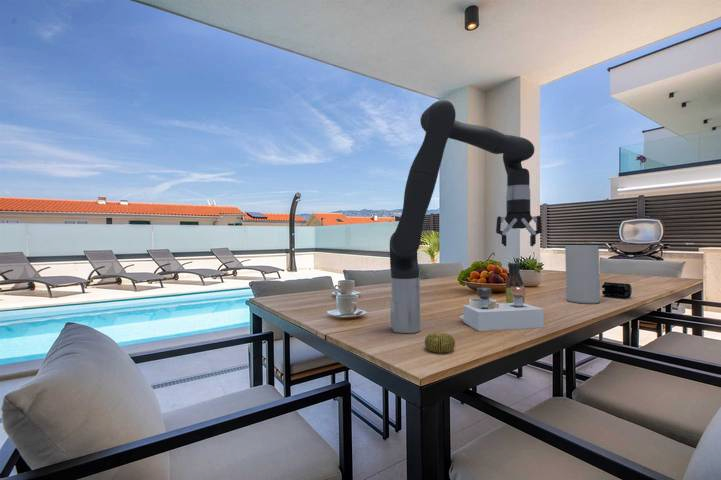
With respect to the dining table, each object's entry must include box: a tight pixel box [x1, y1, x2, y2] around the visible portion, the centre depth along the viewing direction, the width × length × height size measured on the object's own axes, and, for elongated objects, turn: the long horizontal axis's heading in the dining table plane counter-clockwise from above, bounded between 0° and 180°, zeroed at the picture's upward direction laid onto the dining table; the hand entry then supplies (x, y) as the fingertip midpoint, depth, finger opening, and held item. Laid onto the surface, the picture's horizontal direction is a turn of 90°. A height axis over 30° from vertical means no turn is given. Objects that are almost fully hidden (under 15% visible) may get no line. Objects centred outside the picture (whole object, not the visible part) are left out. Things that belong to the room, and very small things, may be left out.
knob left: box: [476, 287, 493, 309], centre depth 114 cm, size 5×5×8 cm
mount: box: [462, 302, 545, 332], centre depth 115 cm, size 22×12×6 cm, turn 96°
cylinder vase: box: [564, 244, 601, 305], centre depth 152 cm, size 12×12×25 cm
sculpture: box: [424, 332, 456, 354], centre depth 91 cm, size 8×4×8 cm
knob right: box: [510, 286, 526, 308], centre depth 116 cm, size 5×5×8 cm
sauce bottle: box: [505, 262, 525, 303], centre depth 128 cm, size 7×6×20 cm
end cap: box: [601, 281, 633, 300], centre depth 160 cm, size 10×7×7 cm
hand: (518, 246), depth 118 cm, fingers open, 8 cm apart
